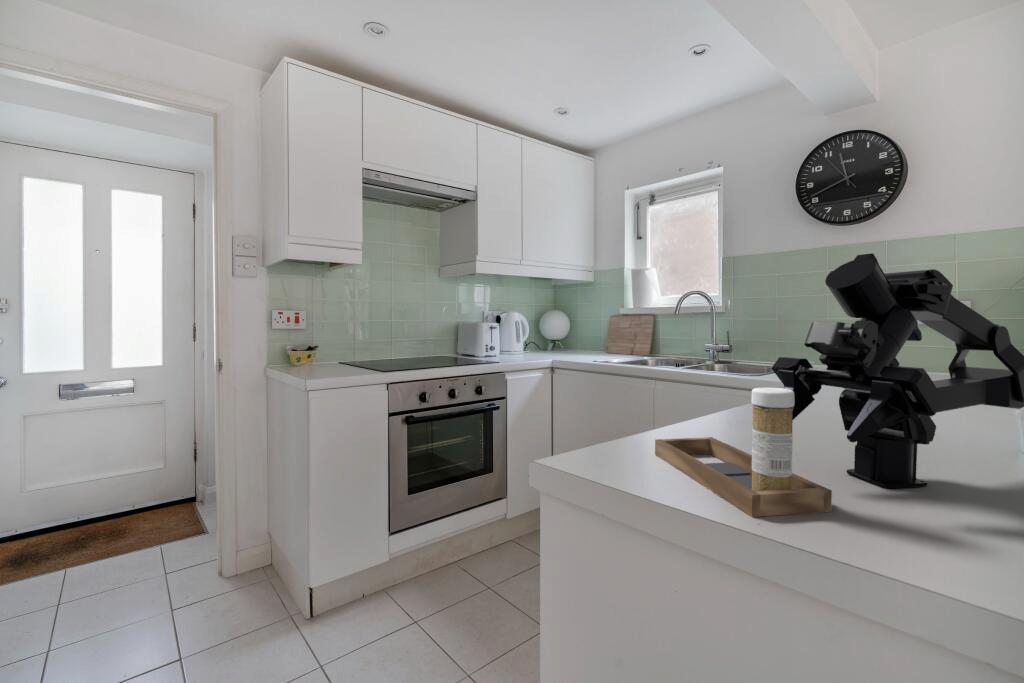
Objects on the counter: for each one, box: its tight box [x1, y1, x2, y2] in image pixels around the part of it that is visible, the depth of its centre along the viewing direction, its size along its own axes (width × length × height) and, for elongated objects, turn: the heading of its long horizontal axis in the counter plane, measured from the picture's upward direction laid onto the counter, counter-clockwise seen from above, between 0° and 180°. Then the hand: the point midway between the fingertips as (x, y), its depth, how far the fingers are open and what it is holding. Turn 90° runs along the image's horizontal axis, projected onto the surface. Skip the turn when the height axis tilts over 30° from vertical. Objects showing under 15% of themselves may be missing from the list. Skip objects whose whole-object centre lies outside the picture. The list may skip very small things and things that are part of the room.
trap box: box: [654, 436, 833, 518], centre depth 66 cm, size 10×25×2 cm, turn 8°
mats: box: [705, 462, 752, 489], centre depth 66 cm, size 8×11×1 cm
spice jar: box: [750, 386, 795, 491], centre depth 57 cm, size 5×5×14 cm
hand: (813, 431), depth 60 cm, fingers open, 9 cm apart
